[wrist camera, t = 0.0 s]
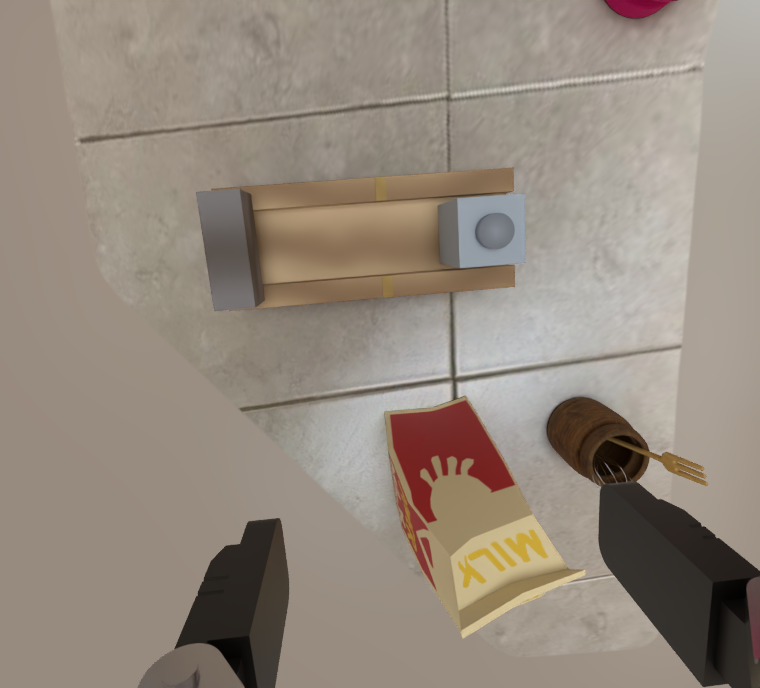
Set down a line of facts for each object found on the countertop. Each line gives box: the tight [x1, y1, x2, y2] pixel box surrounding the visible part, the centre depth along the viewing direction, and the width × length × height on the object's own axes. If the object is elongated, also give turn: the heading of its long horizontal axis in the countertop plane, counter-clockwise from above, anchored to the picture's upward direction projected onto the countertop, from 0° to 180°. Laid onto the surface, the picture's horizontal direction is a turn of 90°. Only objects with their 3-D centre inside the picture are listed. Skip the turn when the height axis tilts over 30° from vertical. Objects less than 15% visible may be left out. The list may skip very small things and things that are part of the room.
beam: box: [196, 168, 515, 311], centre depth 34 cm, size 8×20×10 cm, turn 94°
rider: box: [438, 193, 526, 268], centre depth 31 cm, size 4×4×7 cm
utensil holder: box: [548, 398, 708, 491], centre depth 38 cm, size 6×6×12 cm
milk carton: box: [385, 396, 585, 638], centre depth 34 cm, size 9×9×20 cm
